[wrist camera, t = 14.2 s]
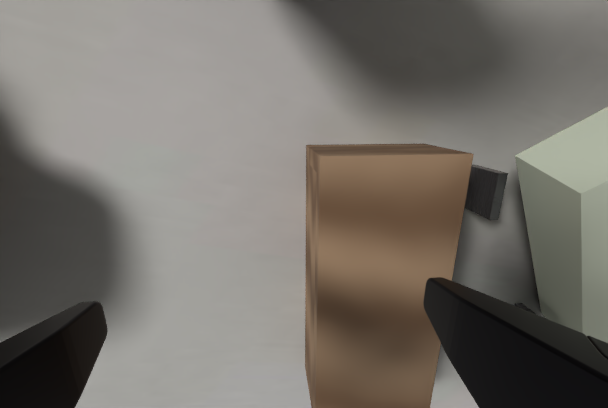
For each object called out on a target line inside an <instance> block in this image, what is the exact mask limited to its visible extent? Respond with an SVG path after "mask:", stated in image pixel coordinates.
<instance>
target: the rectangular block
mask: <svg viewBox="0 0 608 408" xmlns="http://www.w3.org/2000/svg"><path fill="white" fill-rule="evenodd" d="M515 158H516V164H517V170H518V176H519V182H520V188H521V194H522V200H523V206H524V212H525V218H526V224H527V230H528V236H529V242H530V248H531V254H532V260H533V266H534V272H535V278H536V284H537V290H538V296H539V302H540V308H541V313H542V314H543V315H544V316H545V317H546V318H547V319H548V320H551V321H554V322H556V323H559V324H561V325H564V326H566V327H569V328H571V329H574V330H576V331H579V332H581V333H584V334H585V335H586V336H591V337H594V338H596V339H599V340H601V341H604V342H606V343H608V107H606V108H604V109H602V110H600V111H599V112H597V113H595V114H593V115H591V116H589V117H587V118H585V119H583V120H582V121H580V122H578V123H576V124H574V125H572V126H570V127H568V128H566V129H565V130H563V131H561V132H559V133H557V134H555V135H553V136H551V137H549V138H548V139H546V140H544V141H542V142H540V143H538V144H536V145H534V146H532V147H531V148H529V149H527V150H525V151H523V152H521V153H519V154H517V155H515Z"/></svg>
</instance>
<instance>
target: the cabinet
mask: <svg viewBox="0 0 608 408" xmlns="http://www.w3.org/2000/svg"><path fill="white" fill-rule="evenodd" d="M472 160H473V154H471V153H466V152H462V151H457V150H452V149H447V148H442V147H437V146H432V145H427V144H362V145H306V325H305V368H306V375H307V381H308V387H309V393H310V400H311V406H312V408H430V403H431V397H432V392H433V386H434V380H435V374H436V368H437V363H438V357H439V351H440V345H442V344H441V342H440V340H439V338H438V336H437V334H436V332H435V330H434V328H433V326H432V324H431V322H430V320H429V318H428V316H427V314H426V312H425V309H424V305H423V300H424V293H425V286H426V281H427V280H428V279H429V278H435V277H443V278H445V279H448V280H450V281H452V276H453V270H454V264H455V258H456V253H457V247H458V241H459V235H460V229H461V224H462V218H463V212H464V208H466V209H468V210H470V211H472V212H474V213H476V214H479V215H481V216H483V217H485V218H487V219H489V220H497V219H498V218H499V213H500V208H501V204H502V199H503V194H504V189H505V185H506V180H507V175H508V173H505V172H501V171H497V170H493V169H489V168H485V167H481V166H477V165H472ZM515 306H516V307H518V308H521V309H523V310H526V311H528V312H531V313H533V314H535V313H534V312H533V311H531V310H530V309H529V308H527V307H526V306H525V305H523V304H522V303H518V304H515ZM536 315H537V314H536Z"/></svg>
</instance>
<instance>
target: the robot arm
mask: <svg viewBox="0 0 608 408" xmlns="http://www.w3.org/2000/svg"><path fill="white" fill-rule="evenodd" d="M423 305H424V309H425V312H426V314H427V316H428V318H429V320H430V322H431V324H432V326H433V328H434V330H435V332H436V334H437V336H438V338H439V340H440V342H441V344H442V346H443V348H444V350H445V352H446V354H447V356H448V358H449V359H450V361H451V363H452V364H453V366H454V368H455V369H456V371H457V373H458V374H459V376H460V377H461V379H462V381H463V382H464V384H465V385H466V387H467V389H468V390H469V392H470V394H471V395H472V397H473V398H474V400H475V402H476V403H477V405H478V406H479V408H608V343H606V342H604V341H601V340H599V339H596V338H594V337H591V336H586V335H585V334H584V333H581V332H579V331H576V330H574V329H571V328H569V327H566V326H564V325H561V324H559V323H556V322H554V321H551V320H548V319H546V318H543V317H541V316H538V315H536V314H533V313H531V312H528V311H526V310H523V309H521V308H518V307H516V306H513V305H511V304H508V303H506V302H503V301H501V300H498V299H496V298H493V297H491V296H488V295H486V294H483V293H481V292H478V291H476V290H473V289H471V288H468V287H465V286H463V285H460V284H458V283H455V282H453V281H450V280H448V279H445V278H443V277H435V278H429V279H428V280H427V281H426V286H425V293H424V300H423ZM106 336H107V324H106V320H105V316H104V311H103V307H102V305H101V303H100V302H98V301H93V302H82V303H79V304H77V305H75V306H73V307H71V308H69V309H67V310H65V311H63V312H61V313H59V314H57V315H55V316H53V317H51V318H49V319H47V320H45V321H43V322H41V323H39V324H37V325H35V326H33V327H31V328H29V329H27V330H25V331H23V332H21V333H19V334H17V335H15V336H13V337H11V338H9V339H7V340H5V341H3V342H1V343H0V408H75V406H76V404H77V402H78V400H79V398H80V396H81V394H82V392H83V390H84V388H85V386H86V383H87V381H88V379H89V376H90V374H91V371H92V369H93V367H94V364H95V362H96V360H97V357H98V355H99V353H100V350H101V348H102V346H103V343H104V341H105V339H106Z"/></svg>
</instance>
